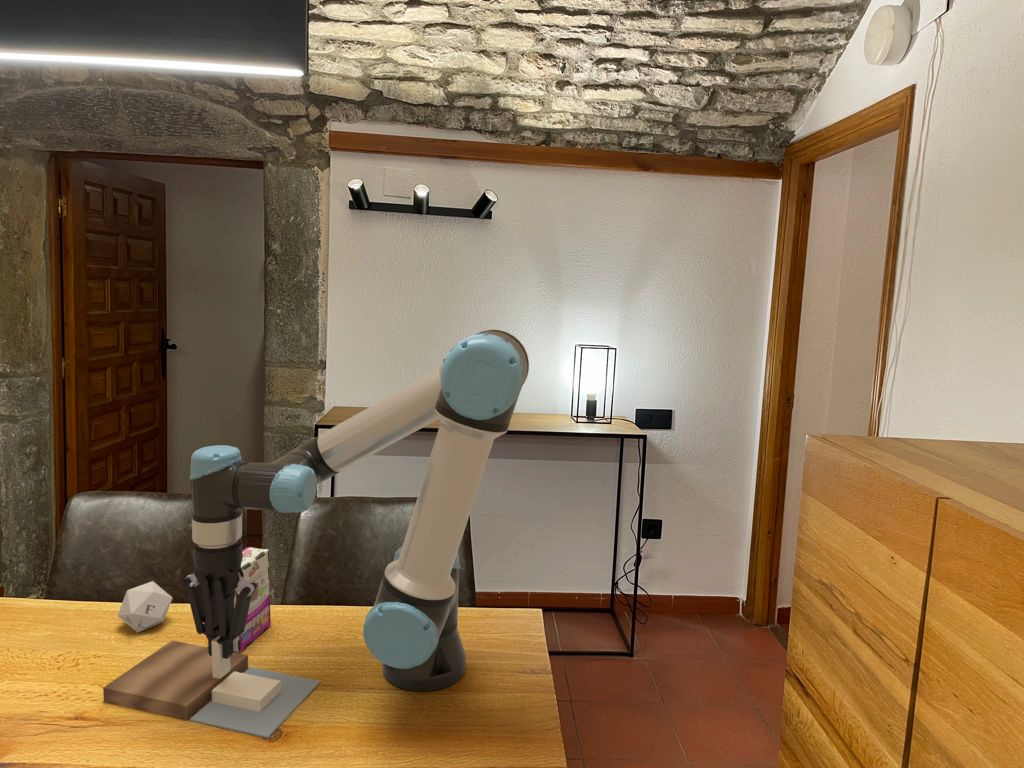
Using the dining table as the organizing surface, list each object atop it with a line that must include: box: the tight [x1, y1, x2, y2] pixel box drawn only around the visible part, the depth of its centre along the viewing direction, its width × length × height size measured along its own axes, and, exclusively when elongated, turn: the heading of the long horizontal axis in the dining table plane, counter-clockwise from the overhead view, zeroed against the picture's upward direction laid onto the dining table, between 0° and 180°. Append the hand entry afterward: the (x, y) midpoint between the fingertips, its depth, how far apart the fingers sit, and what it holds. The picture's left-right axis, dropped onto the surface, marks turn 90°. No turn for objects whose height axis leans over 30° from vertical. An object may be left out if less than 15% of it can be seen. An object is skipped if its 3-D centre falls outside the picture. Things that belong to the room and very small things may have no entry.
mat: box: [189, 666, 321, 739], centre depth 119 cm, size 14×16×1 cm
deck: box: [102, 640, 249, 721], centre depth 123 cm, size 16×16×2 cm
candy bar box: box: [233, 546, 272, 654], centre depth 138 cm, size 11×5×16 cm, turn 168°
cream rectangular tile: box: [211, 671, 281, 712], centre depth 120 cm, size 9×6×2 cm, turn 76°
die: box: [117, 580, 173, 634], centre depth 142 cm, size 8×9×10 cm
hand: (221, 673), depth 120 cm, fingers closed
